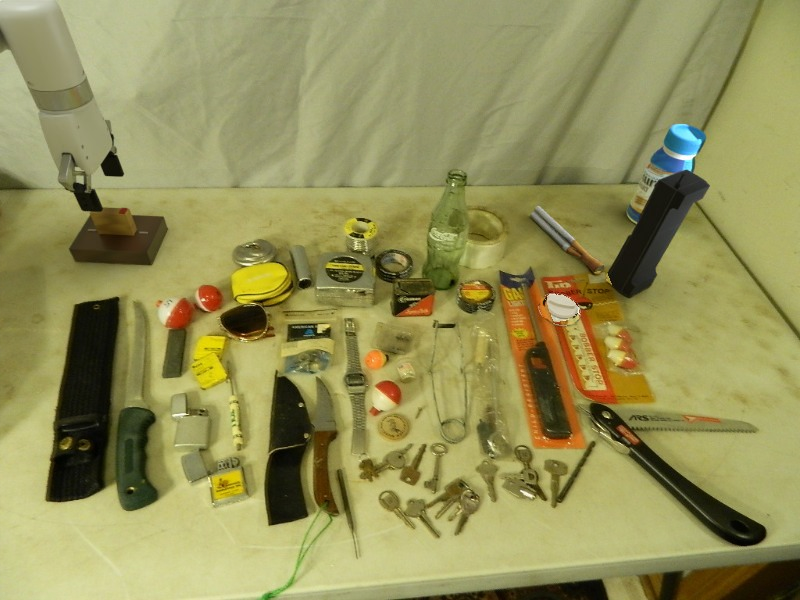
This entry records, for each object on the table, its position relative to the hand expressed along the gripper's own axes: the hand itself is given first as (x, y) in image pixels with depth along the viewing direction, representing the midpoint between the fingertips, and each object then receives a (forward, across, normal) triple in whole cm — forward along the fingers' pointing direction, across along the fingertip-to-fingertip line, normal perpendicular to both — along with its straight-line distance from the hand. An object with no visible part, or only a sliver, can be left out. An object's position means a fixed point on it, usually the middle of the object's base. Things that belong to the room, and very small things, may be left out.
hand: (104, 192), depth 88 cm
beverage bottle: (+13, -16, +102) cm, 105 cm away
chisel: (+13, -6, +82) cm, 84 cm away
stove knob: (+13, +12, +78) cm, 79 cm away
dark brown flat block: (+11, 0, 0) cm, 11 cm away
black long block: (+13, +4, +92) cm, 93 cm away
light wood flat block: (+8, 0, 0) cm, 8 cm away
